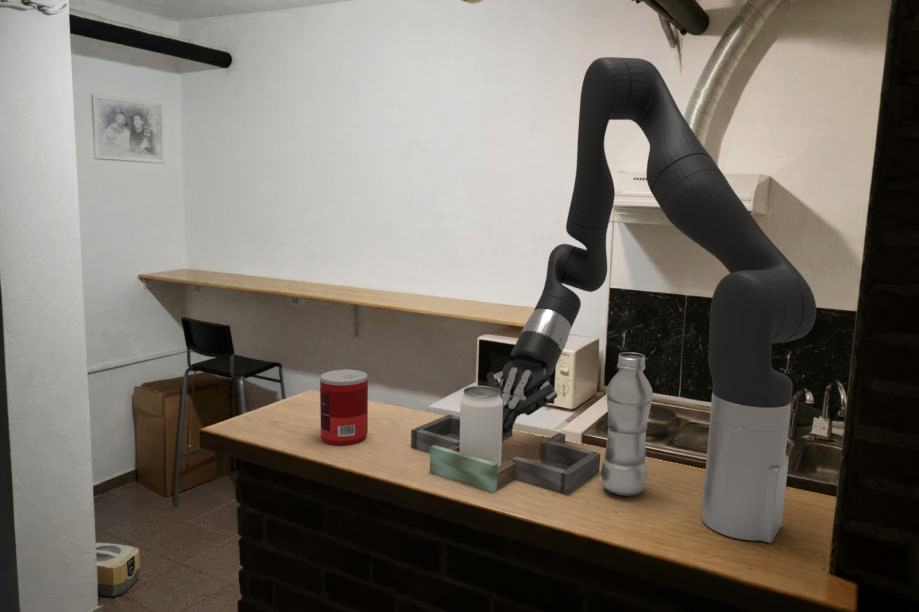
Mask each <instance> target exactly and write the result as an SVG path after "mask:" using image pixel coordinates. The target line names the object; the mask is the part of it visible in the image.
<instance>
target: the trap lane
mask: <svg viewBox="0 0 919 612" xmlns="http://www.w3.org/2000/svg"><path fill="white" fill-rule="evenodd" d="M513 428H514V427H512V429H511V431H510V432H507V434H506V435H502V441H504V440H505V439H508V438H509V437H511V436H513V432H514V431H512V430H514V429H513ZM538 447H539V448H538V450H539V451H538V452H539V453H538V459H539V460H542V461H541V462H537V461H535V460H530V459H527V458H523V457H520V456H517V455H516V456H515V457H513V458H512V459H509V460H508V461H506V462H505V463H503V464H501V466H499V467H497V466H498V464H497V463H494V462H491V461H487V460H484V459H480V458H477V457H474V456H470V455H467V454H463V453H460V416H457V415H454V414H450V413H449V414H447V415H444V416H442V417H439V418H437V419H434V420H432V421H430V422H427V423H424V424H422V425H420V426H417V427H415V428H413V429H412V428H411V431H410V448H412V449H415V450H420V451H423V452H425V453H427V454H429V473H431V474H434V475H436V476H437V475H438V476H441V477H443V478H446V479H450V480H453V481H456V482H460V483H462V484H466V485H469V486H472V487H475V488H477V489H481V490H483V491H486V492H490V493H494V492H496V491H499V489H502V488H503V487H504V486H506V485H508V484H509V483H511V482H512V481H514V480H517V481H520V482H525V483H527V484H530V485H534V486H537V487H540V488H544V489H547V490H550V491H554V492H557V493H559V494H564V495H567V496H568V495H570V494H572V492H574V491H576V490H577V489H578V488H579V487H581V486H582V485H584V484H585V483H587V482H588V481H589V480H590V478H591V479H592V478H594V477H595V476H596V475H597V474H599V473H600V472H601V469H600V468H601V454H602V453H600V452H597V451H594V450H590V449H589V450H588V449H585V448H582V447H577V446H574V445H569V444H566V434H565V433H561V432H558V433H556V434H554V435H552V436H551V437H550V438H547V439H545V440H543V441H542V442H540V443H539V446H538ZM598 472H599V473H598ZM595 474H596V475H595ZM594 475H595V476H594Z"/></svg>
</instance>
